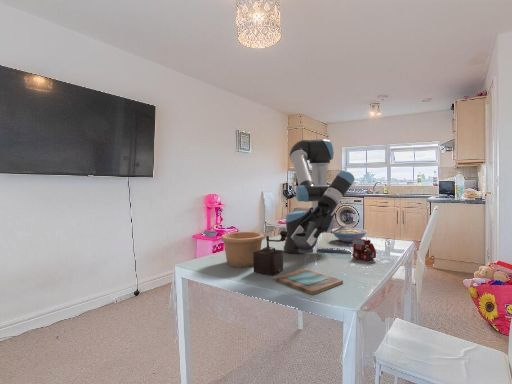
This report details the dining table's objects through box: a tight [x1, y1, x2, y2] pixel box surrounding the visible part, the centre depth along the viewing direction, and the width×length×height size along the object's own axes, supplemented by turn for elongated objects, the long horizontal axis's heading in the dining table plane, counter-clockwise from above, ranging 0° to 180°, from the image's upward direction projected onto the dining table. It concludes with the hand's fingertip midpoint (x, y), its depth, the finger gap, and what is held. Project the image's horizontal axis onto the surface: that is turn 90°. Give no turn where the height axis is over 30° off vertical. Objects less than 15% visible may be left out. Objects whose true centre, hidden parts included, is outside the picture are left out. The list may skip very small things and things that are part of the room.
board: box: [272, 268, 344, 295], centre depth 124 cm, size 22×18×1 cm
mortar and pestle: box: [294, 221, 318, 254], centre depth 123 cm, size 11×9×12 cm
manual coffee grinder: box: [253, 230, 288, 277], centre depth 141 cm, size 16×11×18 cm
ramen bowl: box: [330, 225, 368, 243], centre depth 201 cm, size 25×23×8 cm
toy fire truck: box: [352, 238, 377, 262], centre depth 156 cm, size 7×12×10 cm, turn 42°
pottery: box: [220, 231, 265, 268], centre depth 154 cm, size 22×22×14 cm
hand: (300, 241), depth 122 cm, fingers closed on mortar and pestle, 10 cm apart
